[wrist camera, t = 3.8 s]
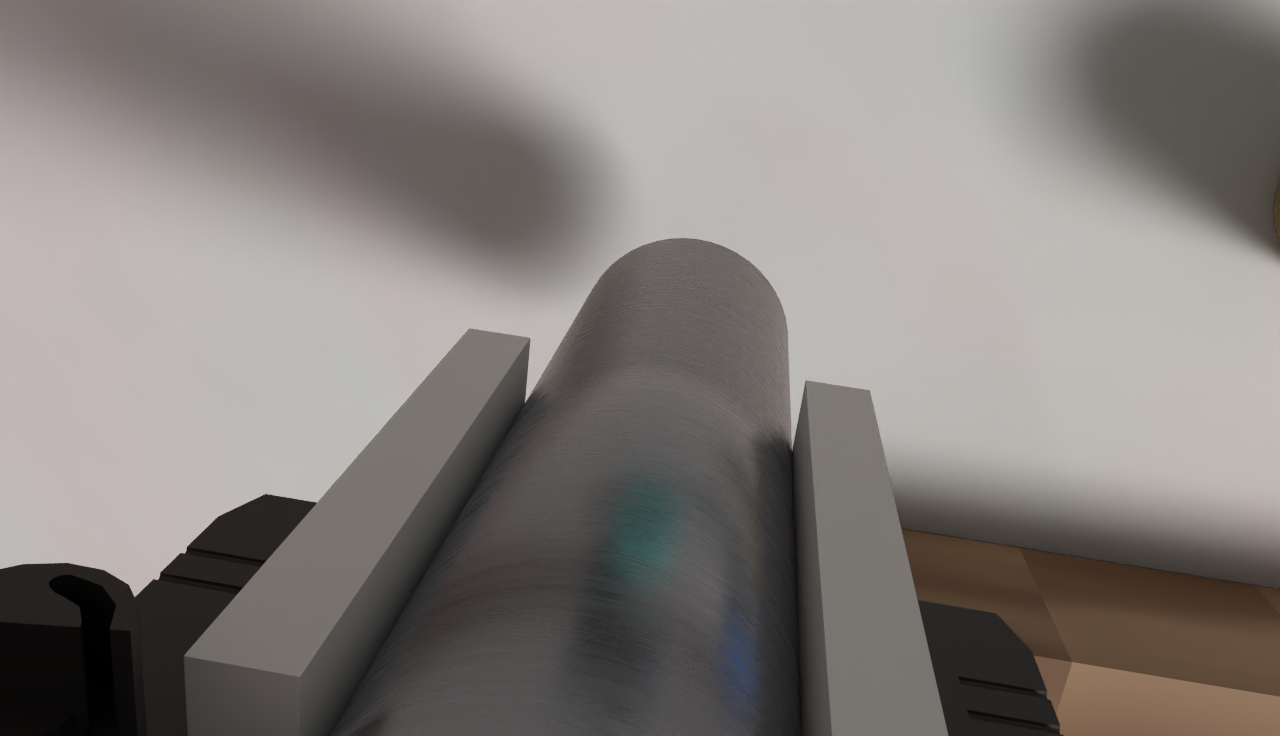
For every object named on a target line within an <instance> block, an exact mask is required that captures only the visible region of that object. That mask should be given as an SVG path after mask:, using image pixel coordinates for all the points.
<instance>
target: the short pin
mask: <svg viewBox="0 0 1280 736" xmlns="http://www.w3.org/2000/svg"><path fill="white" fill-rule="evenodd" d="M1274 223H1275V229H1276V233H1277V236H1278V239H1279V242H1280V181H1279V183H1278V187H1277V191H1276V195H1275V202H1274Z"/></svg>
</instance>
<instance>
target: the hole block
mask: <svg viewBox="0 0 1280 736" xmlns="http://www.w3.org/2000/svg"><path fill="white" fill-rule="evenodd" d="M901 530H902V534H903V539H904V543H905V547H906V552H907V556H908V561H909V565H910V569H911V574H912V578H913V583H914V587H915V591H916V596H917V600H921V601H927V602H932V603H938V604H944V605H950V606H956V607H962V608H968V609H974V610H980V611H986V612H992V613H996V614H997V615H998V616H999V617H1000V618H1001V619H1002V620H1003V621H1004V622H1005V623H1006V624H1007V625H1008V626H1009V627H1010V628H1011V629H1012V631H1013V632H1014V633H1015V634H1016V635H1017V636H1018V637H1019V638H1020V639H1021V640H1022V641H1023V642H1024V643H1025V644H1026V645H1027V646H1028V647H1029V648H1030V650H1031V651H1032V652H1033V655H1034V658H1035V660H1036V663H1037V666H1038V668H1039V671H1040V673H1041V676H1042V679H1043V681H1044V684H1045V687H1046V689H1047V699H1049V700H1051V702H1052V705H1053V708H1054V710H1055V713H1056V715H1057V718H1058V721H1059V723H1060V734H1061V735H1064V736H1280V590H1279V589H1273V588H1267V587H1261V586H1254V585H1248V584H1242V583H1236V582H1229V581H1223V580H1217V579H1211V578H1204V577H1198V576H1192V575H1186V574H1180V573H1173V572H1167V571H1161V570H1155V569H1148V568H1142V567H1136V566H1130V565H1123V564H1117V563H1111V562H1105V561H1099V560H1092V559H1086V558H1080V557H1074V556H1067V555H1061V554H1055V553H1049V552H1042V551H1036V550H1030V549H1024V548H1017V547H1011V546H1005V545H999V544H993V543H986V542H980V541H974V540H968V539H961V538H955V537H949V536H943V535H936V534H930V533H924V532H918V531H912V530H905V529H901Z"/></svg>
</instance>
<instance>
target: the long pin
mask: <svg viewBox="0 0 1280 736" xmlns="http://www.w3.org/2000/svg"><path fill="white" fill-rule="evenodd" d="M330 736H802V721H801V693H800V665H799V637H798V609H797V581H796V553H795V525H794V496H793V468H792V440H791V412H790V384H789V356H788V330H787V324H786V318H785V314H784V311H783V308H782V305H781V302H780V300H779V298H778V296H777V294H776V292H775V290H774V289H773V287H772V286H771V284H770V283H769V281H768V280H767V279H766V278H765V277H764V275H763V274H762V273H761V272H760V271H759V270H758V269H757V268H756V267H755V266H754V265H753V264H751V263H750V262H749V261H748V260H746V259H745V258H743V257H742V256H740V255H739V254H738V253H736V252H734V251H732V250H730V249H728V248H726V247H723V246H720V245H718V244H715V243H712V242H708V241H703V240H698V239H687V238H679V239H666V240H661V241H656V242H652V243H649V244H646V245H643V246H641V247H639V248H637V249H634V250H632V251H630V252H629V253H627V254H626V255H624V256H623V257H621V258H619V259H618V260H617V261H616V262H615V263H614V264H612V265H611V266H610V267H609V268H608V269H607V270H606V271H605V273H604V274H603V275H602V276H601V277H600V279H599V280H598V282H597V283H596V285H595V286H594V288H593V289H592V291H591V293H590V294H589V296H588V298H587V299H586V301H585V303H584V304H583V306H582V308H581V310H580V311H579V313H578V315H577V316H576V318H575V320H574V321H573V323H572V325H571V327H570V328H569V330H568V332H567V333H566V335H565V337H564V338H563V340H562V342H561V343H560V345H559V347H558V349H557V350H556V352H555V354H554V355H553V357H552V359H551V360H550V362H549V364H548V366H547V367H546V369H545V371H544V372H543V374H542V376H541V377H540V379H539V381H538V383H537V384H536V386H535V388H534V389H533V391H532V393H531V394H530V396H529V398H528V399H527V401H526V403H525V405H524V406H523V408H522V410H521V411H520V413H519V415H518V416H517V418H516V420H515V422H514V423H513V425H512V427H511V428H510V430H509V432H508V433H507V435H506V437H505V439H504V440H503V442H502V444H501V445H500V447H499V449H498V450H497V452H496V454H495V455H494V457H493V459H492V461H491V462H490V464H489V466H488V467H487V469H486V471H485V472H484V474H483V476H482V478H481V479H480V481H479V483H478V484H477V486H476V488H475V489H474V491H473V493H472V495H471V496H470V498H469V500H468V501H467V503H466V505H465V506H464V508H463V510H462V511H461V513H460V515H459V517H458V518H457V520H456V522H455V523H454V525H453V527H452V528H451V530H450V532H449V534H448V535H447V537H446V539H445V540H444V542H443V544H442V545H441V547H440V549H439V551H438V552H437V554H436V556H435V557H434V559H433V561H432V562H431V564H430V566H429V568H428V569H427V571H426V573H425V574H424V576H423V578H422V579H421V581H420V583H419V584H418V586H417V588H416V590H415V591H414V593H413V595H412V596H411V598H410V600H409V601H408V603H407V605H406V607H405V608H404V610H403V612H402V613H401V615H400V617H399V618H398V620H397V622H396V624H395V625H394V627H393V629H392V630H391V632H390V634H389V635H388V637H387V639H386V640H385V642H384V644H383V646H382V647H381V649H380V651H379V652H378V654H377V656H376V657H375V659H374V661H373V663H372V664H371V666H370V668H369V669H368V671H367V673H366V674H365V676H364V678H363V680H362V681H361V683H360V685H359V686H358V688H357V690H356V691H355V693H354V695H353V696H352V698H351V700H350V702H349V703H348V705H347V707H346V708H345V710H344V712H343V713H342V715H341V717H340V719H339V720H338V722H337V724H336V725H335V727H334V729H333V730H332V732H331V734H330Z"/></svg>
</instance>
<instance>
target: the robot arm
mask: <svg viewBox="0 0 1280 736" xmlns="http://www.w3.org/2000/svg"><path fill="white" fill-rule="evenodd" d="M529 348H530V338H527V337H521V336H514V335H508V334H501V333H495V332H488V331H482V330H475V329H468V331H467V332H466V333H465V334H464V335H463V336H462V337H461V339H460V340H459V341H458V342H457V343H456V344H455V345H454V347H453V348H452V349H451V350H450V351H449V352H448V354H447V355H446V356H445V357H444V358H443V359H442V360H441V362H440V363H439V364H438V365H437V366H436V367H435V368H434V370H433V371H432V372H431V373H430V374H429V375H428V376H427V378H426V379H425V380H424V381H423V382H422V383H421V384H420V386H419V387H418V388H417V389H416V390H415V391H414V392H413V394H412V395H411V396H410V397H409V398H408V399H407V401H406V402H405V403H404V404H403V405H402V406H401V407H400V409H399V410H398V411H397V412H396V413H395V414H394V415H393V417H392V418H391V419H390V420H389V421H388V422H387V423H386V425H385V426H384V427H383V428H382V429H381V430H380V431H379V433H378V434H377V435H376V436H375V437H374V438H373V439H372V441H371V442H370V443H369V444H368V445H367V446H366V447H365V449H364V450H363V451H362V452H361V453H360V454H359V456H358V457H357V458H356V459H355V460H354V461H353V462H352V464H351V465H350V466H349V467H348V468H347V469H346V470H345V472H344V473H343V474H342V475H341V476H340V477H339V478H338V480H337V481H336V482H335V483H334V484H333V485H332V486H331V488H330V489H329V490H328V491H327V492H326V493H325V494H324V496H323V497H322V498H321V499H320V500H319V501H318V503H315V502H309V501H303V500H297V499H292V498H286V497H280V496H274V495H268V494H265V495H263V496H261V497H259V498H257V499H255V500H252V501H250V502H248V503H246V504H244V505H242V506H240V507H238V508H235V509H233V510H231V511H229V512H227V513H225V514H223V515H221V516H219V517H218V518H216V519H215V520H214V521H213V522H212V523H211V524H210V525H209V526H208V527H207V528H206V529H205V530H204V531H203V532H202V533H201V534H200V535H199V536H198V537H197V538H196V539H195V540H194V541H193V542H192V543H191V544H190V545H189V546H188V547H187V551H186V553H185V554H183V553H180V554H179V555H178V556H177V557H176V558H175V559H174V560H173V561H172V562H171V563H170V564H169V565H168V566H167V567H166V568H165V569H164V570H163V571H162V572H161V573H160V578H159V580H154V579H153V580H152V581H151V582H150V583H149V584H148V585H147V586H146V587H145V588H144V589H143V590H142V591H141V592H140V593H139V594H138V595H137V596H136V597H134V595H133V593H132V591H131V589H130V587H129V585H128V584H126V583H125V582H123V581H121V580H120V579H118V578H116V577H114V576H113V575H111V574H109V573H108V572H106V571H104V570H100V569H95V568H90V567H85V566H79V565H74V564H69V563H54V564H23V565H18V566H13V567H8V568H4V569H0V736H330V734H331V732H332V730H333V729H334V727H335V725H336V724H337V722H338V720H339V719H340V717H341V715H342V713H343V712H344V710H345V708H346V707H347V705H348V703H349V702H350V700H351V698H352V696H353V695H354V693H355V691H356V690H357V688H358V686H359V685H360V683H361V681H362V680H363V678H364V676H365V674H366V673H367V671H368V669H369V668H370V666H371V664H372V663H373V661H374V659H375V657H376V656H377V654H378V652H379V651H380V649H381V647H382V646H383V644H384V642H385V640H386V639H387V637H388V635H389V634H390V632H391V630H392V629H393V627H394V625H395V624H396V622H397V620H398V618H399V617H400V615H401V613H402V612H403V610H404V608H405V607H406V605H407V603H408V601H409V600H410V598H411V596H412V595H413V593H414V591H415V590H416V588H417V586H418V584H419V583H420V581H421V579H422V578H423V576H424V574H425V573H426V571H427V569H428V568H429V566H430V564H431V562H432V561H433V559H434V557H435V556H436V554H437V552H438V551H439V549H440V547H441V545H442V544H443V542H444V540H445V539H446V537H447V535H448V534H449V532H450V530H451V528H452V527H453V525H454V523H455V522H456V520H457V518H458V517H459V515H460V513H461V511H462V510H463V508H464V506H465V505H466V503H467V501H468V500H469V498H470V496H471V495H472V493H473V491H474V489H475V488H476V486H477V484H478V483H479V481H480V479H481V478H482V476H483V474H484V472H485V471H486V469H487V467H488V466H489V464H490V462H491V461H492V459H493V457H494V455H495V454H496V452H497V450H498V449H499V447H500V445H501V444H502V442H503V440H504V439H505V437H506V435H507V433H508V432H509V430H510V428H511V427H512V425H513V423H514V422H515V420H516V418H517V416H518V415H519V413H520V411H521V410H522V408H523V406H524V405H525V395H526V383H527V371H528V360H529ZM792 468H793V496H794V525H795V553H796V581H797V609H798V637H799V665H800V693H801V721H802V736H1064V735H1061V734H1060V723H1059V721H1058V718H1057V715H1056V713H1055V710H1054V708H1053V705H1052V702H1051V700H1049V699H1047V689H1046V687H1045V684H1044V681H1043V679H1042V676H1041V673H1040V671H1039V668H1038V666H1037V663H1036V660H1035V658H1034V655H1033V652H1032V651H1031V650H1030V648H1029V647H1028V646H1027V645H1026V644H1025V643H1024V642H1023V641H1022V640H1021V639H1020V638H1019V637H1018V636H1017V635H1016V634H1015V633H1014V632H1013V631H1012V629H1011V628H1010V627H1009V626H1008V625H1007V624H1006V623H1005V622H1004V621H1003V620H1002V619H1001V618H1000V617H999V616H998V615H997V614H996V613H992V612H986V611H980V610H974V609H968V608H962V607H956V606H950V605H944V604H938V603H932V602H927V601H921V600H917V596H916V591H915V587H914V583H913V578H912V574H911V569H910V565H909V561H908V556H907V552H906V547H905V543H904V539H903V534H902V530H901V525H900V521H899V517H898V512H897V508H896V503H895V499H894V495H893V490H892V486H891V481H890V477H889V473H888V468H887V464H886V459H885V455H884V451H883V446H882V442H881V438H880V433H879V429H878V424H877V420H876V416H875V411H874V407H873V402H872V398H871V394H870V390H864V389H857V388H851V387H844V386H838V385H832V384H825V383H819V382H812V381H806V382H805V387H804V393H803V398H802V403H801V408H800V414H799V419H798V424H797V429H796V435H795V440H794V445H793V450H792Z"/></svg>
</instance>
